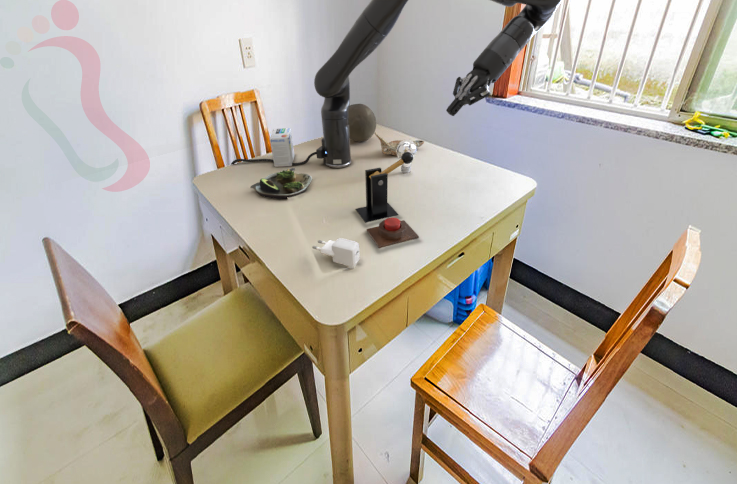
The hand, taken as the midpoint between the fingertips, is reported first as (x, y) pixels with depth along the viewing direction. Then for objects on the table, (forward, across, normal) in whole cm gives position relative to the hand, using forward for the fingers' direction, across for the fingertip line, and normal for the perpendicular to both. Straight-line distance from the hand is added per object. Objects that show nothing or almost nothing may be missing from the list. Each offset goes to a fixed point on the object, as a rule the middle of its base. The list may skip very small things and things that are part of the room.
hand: (449, 113), depth 98 cm
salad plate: (+48, -28, -11) cm, 57 cm away
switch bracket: (+33, 0, +4) cm, 33 cm away
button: (+32, +12, +1) cm, 34 cm away
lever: (+21, 0, -1) cm, 21 cm away
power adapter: (+45, +16, -8) cm, 49 cm away
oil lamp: (+15, -39, +22) cm, 47 cm away
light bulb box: (+45, -50, -8) cm, 68 cm away
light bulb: (+19, -21, +18) cm, 34 cm away
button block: (+34, +12, +3) cm, 36 cm away
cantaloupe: (+22, -57, +15) cm, 63 cm away
